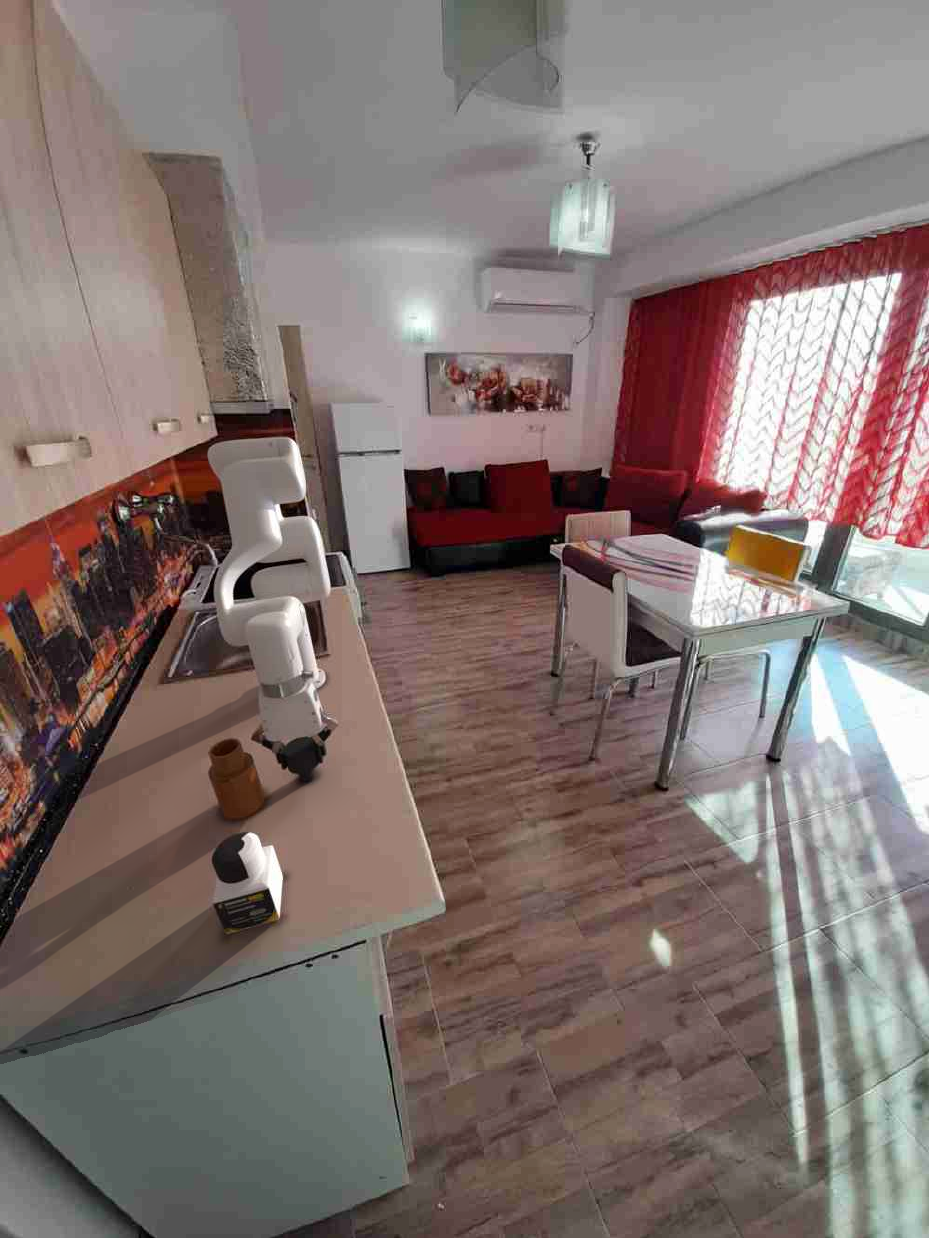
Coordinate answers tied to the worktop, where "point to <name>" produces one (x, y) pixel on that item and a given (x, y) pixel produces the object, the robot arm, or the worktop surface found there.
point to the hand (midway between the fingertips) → (303, 760)
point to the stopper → (302, 758)
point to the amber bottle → (235, 779)
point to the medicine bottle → (246, 883)
